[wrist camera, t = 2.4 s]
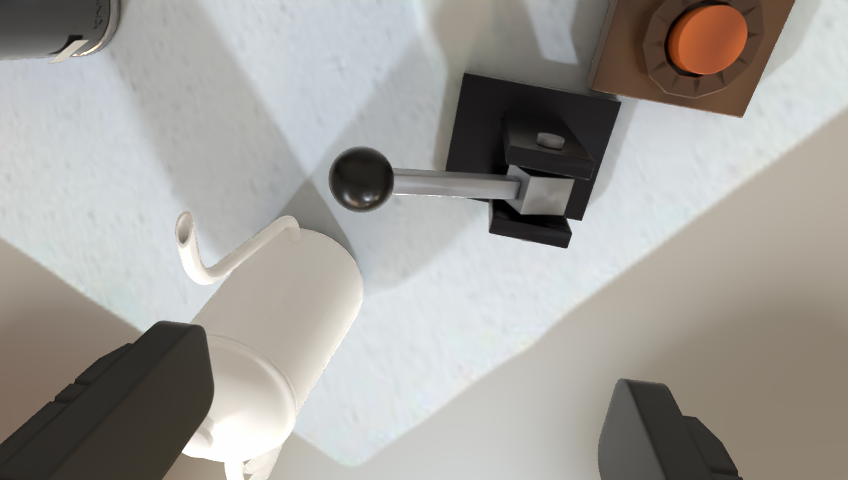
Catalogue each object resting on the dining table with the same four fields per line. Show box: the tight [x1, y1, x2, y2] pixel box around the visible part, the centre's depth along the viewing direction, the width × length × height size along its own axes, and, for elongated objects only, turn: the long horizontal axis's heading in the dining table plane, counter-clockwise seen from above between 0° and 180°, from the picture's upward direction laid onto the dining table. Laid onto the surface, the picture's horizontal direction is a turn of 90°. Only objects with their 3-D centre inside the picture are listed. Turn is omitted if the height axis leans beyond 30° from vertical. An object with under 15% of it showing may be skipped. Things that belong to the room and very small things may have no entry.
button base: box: [585, 0, 795, 118], centre depth 30 cm, size 10×8×4 cm
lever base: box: [445, 71, 621, 248], centre depth 30 cm, size 11×9×12 cm
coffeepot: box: [175, 211, 364, 480], centre depth 34 cm, size 11×25×19 cm, turn 175°
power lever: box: [329, 147, 575, 215], centre depth 25 cm, size 13×3×3 cm, turn 80°
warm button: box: [668, 5, 747, 74], centre depth 27 cm, size 4×4×2 cm
